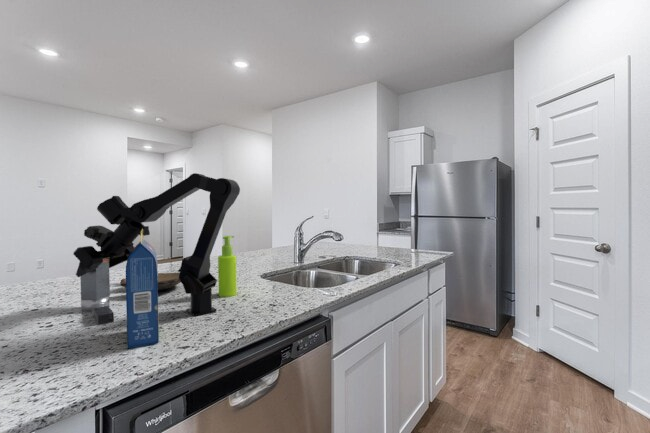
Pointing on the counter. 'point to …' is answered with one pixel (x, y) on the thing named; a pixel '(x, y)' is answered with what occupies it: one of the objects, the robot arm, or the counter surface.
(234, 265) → the soap dispenser
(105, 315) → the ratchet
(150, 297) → the blue food package
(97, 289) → the grey orange-striped post
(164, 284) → the notched wooden ornament
